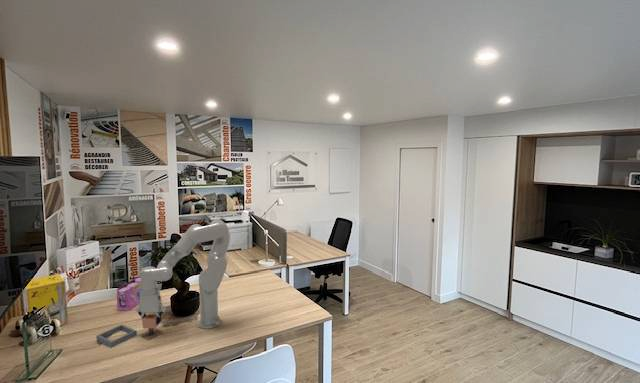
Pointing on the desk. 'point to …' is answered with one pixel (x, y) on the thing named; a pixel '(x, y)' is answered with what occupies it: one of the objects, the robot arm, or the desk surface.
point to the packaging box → (47, 297)
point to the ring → (150, 321)
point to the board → (151, 334)
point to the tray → (105, 335)
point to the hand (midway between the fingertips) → (151, 323)
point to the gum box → (129, 295)
